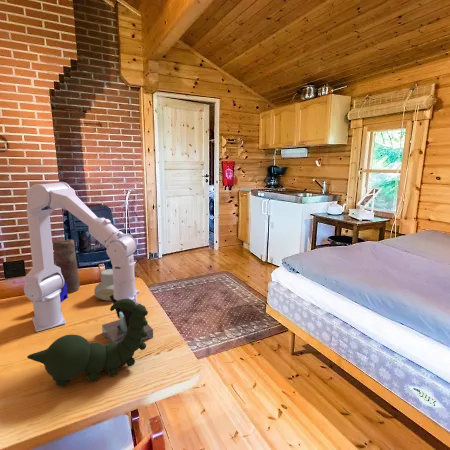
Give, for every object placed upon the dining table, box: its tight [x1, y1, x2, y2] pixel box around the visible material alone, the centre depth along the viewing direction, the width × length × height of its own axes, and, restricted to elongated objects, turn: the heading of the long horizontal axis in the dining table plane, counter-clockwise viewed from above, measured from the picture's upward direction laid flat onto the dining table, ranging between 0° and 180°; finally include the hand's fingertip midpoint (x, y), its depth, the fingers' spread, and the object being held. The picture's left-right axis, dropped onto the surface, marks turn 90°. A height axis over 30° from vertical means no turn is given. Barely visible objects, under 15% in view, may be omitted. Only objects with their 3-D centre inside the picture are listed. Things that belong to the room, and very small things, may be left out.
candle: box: [52, 238, 81, 294], centre depth 114 cm, size 8×7×20 cm
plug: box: [119, 312, 127, 333], centre depth 86 cm, size 3×3×7 cm
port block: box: [101, 319, 154, 344], centre depth 87 cm, size 11×11×2 cm
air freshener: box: [93, 268, 114, 302], centre depth 110 cm, size 11×8×10 cm
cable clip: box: [60, 283, 69, 303], centre depth 104 cm, size 12×4×6 cm, turn 172°
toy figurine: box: [26, 299, 149, 388], centre depth 69 cm, size 9×19×25 cm
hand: (126, 322), depth 86 cm, fingers open, 7 cm apart
